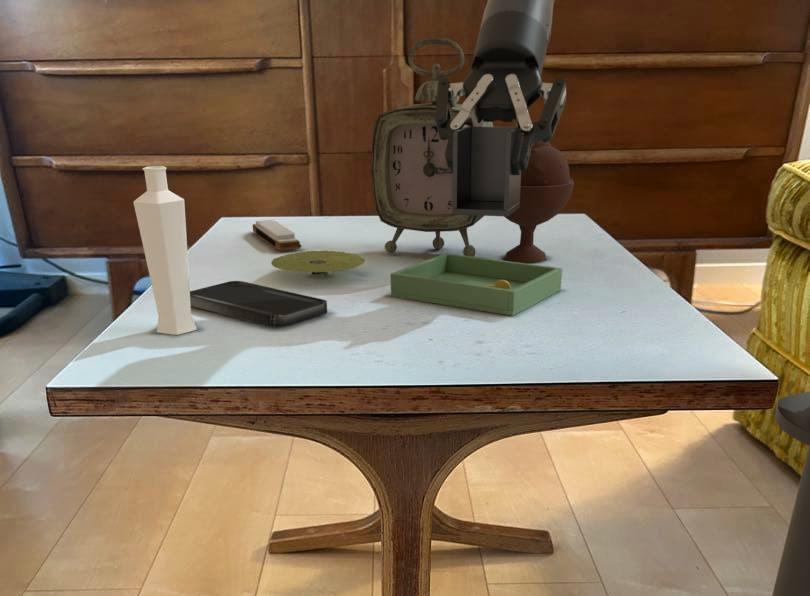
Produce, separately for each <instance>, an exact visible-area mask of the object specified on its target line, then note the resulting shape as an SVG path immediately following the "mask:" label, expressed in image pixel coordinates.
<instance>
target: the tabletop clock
mask: <svg viewBox="0 0 810 596" xmlns="http://www.w3.org/2000/svg"><path fill="white" fill-rule="evenodd" d="M428 45H444V46H449V47H451V48H453V49H454V50H455V51H456V52H457V53H458V55H459V57H460V61H459V64H457V66H455V67H454V68H450V69H448V70H441V65H440V64H438V63H433V65H432V66H431V70H425V69H421V68H419V67H418V66H416V65H415V64H414V62H413V56H414V54H416V52H417V51H418V50H419V49H420V48H423V47H424V46H428ZM407 60H408V64H409V66H410V68H411V69H412V70H413V71H414V73H416V74H417V75H420V76H422V77H423V78H424V77H426V78H430V79H431V80H429V81H426V82H423V83H422V84H421V85H420V86H419V88H418V89H417V91H416V93H415V97H414V101H417V102H430V103H418V104H417V103H416V104H410V105H405V106H402V107H397V108H393V109H390V110H387V111H385V112H383V113H381V114H379V115H378V117H377V120H376V122H375V124H374V125H375V126H374V128H373V135H372V142H371V163H370V165H371V166H370V167H371V168H370V171H371V172H370V173H371V183H372V184H371V185H372V194H373V196H372V197H373V200H374V205H375V211H376V213H377V215H378V218H379V221H380V222H381V223H383V224H385V225H388V226H390V227H392V228H394V229H395V228H396V229H395V231H394V235H393V237H392V239H391V240H388V241H386V242H385V244H384V250H385V251H386V252H387V253H388V254H394V253H395V252H396V251H397V249H398V245H397V241H398V240H399V238H400V237H401V235H402V234H403V232H404V231H405V230H409V231H416V232H423V233H435V238H433V240H432V246H433V248H434V249H436V250H441V249H443V247H444V246H445V240H444V239H443V237H441V232H459V233H460V236H461V238H462V241H463V244H464V247H463V250H462V255H464V256H472V257H475V255H476V248H475V246H474V245H472V244H470V242H469V236H468V228H470V227H473V226H475V225H476V224H477V223H478V222H479V221H480V220H481V219H483V218H484V217H485V216H479V215H453V214H452V209H453V208H452V192H453V173H452V172H451V169H450V168H448V165H447V162H446V158H445V151H446V147H447V143H448V139H446V140H441V139H440V137H439V134H438V130H437V126H436V122H435V114H436V102H437V89H438V81H439V80H440V79H441V78H447V77H450V76H453V75H455V74H457V73H458V72H460V70H461V69H462V68H463V66H464V65H465V64H464V63H465V61H466V59H465V54H464V51H463V48H462V47H461V46H460V45H459V44H458V42H456V41H453V40H451V39H449V38H444V37H427V38H425V39H421V40H420V41H418V42H416V43H415V44H414V45H413V47H412V48H411V49H410V51H409V54H408V58H407ZM462 104H463V103H461V104H460V103H457V104H456V107H452V118H451V121H453V120H454V118H455V117H456V116H457V115H458V113H459V112H460V111H461V106H462ZM480 127H494V123H493V121H492V122H484V123H483V124H482V125H481V126H480Z"/></svg>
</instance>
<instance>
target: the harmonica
mask: <svg viewBox="0 0 810 596" xmlns="http://www.w3.org/2000/svg"><path fill="white" fill-rule="evenodd" d="M252 232H253V233H255V234H256V236H257V237H258V238H260V239H261V240H262V241H264V242H265V243H266V244H268V245H269V246H270V247H272V248H273V249H275V250H278V251H287V250H288V251H289V250H299V249H301V248H302V244H301V241H300V240H299V239H298V238H296V237H295V236H296V235H295V234H296V233H295V232H294V231H292V230H291V229H289V228H288V227H286V226H284V225H283V224H281V223H280V222H278V221H277V220H274V219H262V220H256V221H255V223H252Z"/></svg>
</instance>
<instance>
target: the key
mask: <svg viewBox="0 0 810 596" xmlns="http://www.w3.org/2000/svg"><path fill="white" fill-rule="evenodd" d="M487 286H488V287H495V288H502V289H509V290H511V286H510V284H509V283H508V282H507V281H506V280H499V281H497V282H496V284H495V285H487Z"/></svg>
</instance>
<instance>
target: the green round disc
mask: <svg viewBox="0 0 810 596" xmlns="http://www.w3.org/2000/svg"><path fill="white" fill-rule="evenodd" d="M365 263H366V260H365V258H364V257H362V255H359V254H356V253H351V252H345V251H340V250H339V251H335V250H307V251H298V252H293V253H287V254H284V255H280V256H277V257H275V258H273V259H272V260H271V263H270V265H271V266H272V267H273V268H276V269H279V270H283V271H286V272H287V271H288V272H298V273H310V274H311V276H317V277H318V278H322V274H324V276H325V277H329V276H328V275H329V272H338V271H344V270H350V269H354V268H357V267H360V266H362V265H364V264H365Z"/></svg>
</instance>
